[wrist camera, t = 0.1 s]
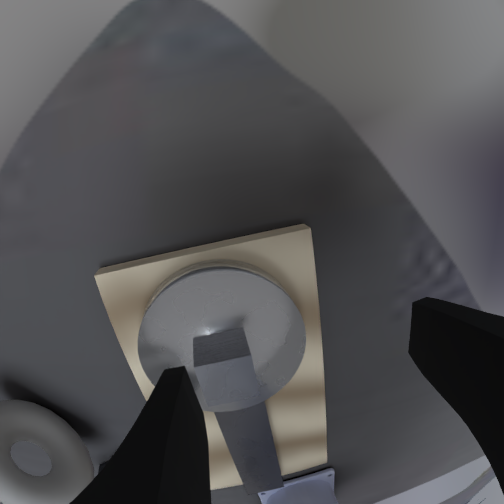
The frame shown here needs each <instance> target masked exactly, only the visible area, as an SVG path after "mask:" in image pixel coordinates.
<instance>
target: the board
mask: <svg viewBox="0 0 504 504" xmlns="http://www.w3.org/2000/svg"><path fill="white" fill-rule="evenodd" d="M212 259H229V260H237V261H242V262H246V263H249V264H252V265H254V266H257V267H259V268H261V269H263V270H264V271H266V272H268V273H269V274H270V275H272V276H273V277H274V278H275V279H276V280H277V281H278V282H279V283H281V285H282V286H283V287H284V289H285V290H286V291H287V293H288V294H289V296H290V297H291V299H292V300H293V302H294V304H295V305H296V307H297V308H298V310H299V312H300V314H301V316H302V319H303V322H304V325H305V330H306V347H305V352H304V356H303V359H302V362H301V364H300V366H299V368H298V370H297V371H296V373H295V375H294V376H293V377H292V378H291V380H290V381H289V382H288V383H287V384H286V385H285V386H284V387H283V388H282V389H281V390H280V391H278V392H277V393H276V394H275V395H273V396H271V397H270V398H268V399H267V400H265V405H266V409H267V414H268V418H269V423H270V427H271V431H272V436H273V440H274V445H275V449H276V453H277V458H278V462H279V466H280V471H281V475H286V474H290V473H294V472H297V471H301V470H304V469H308V468H311V467H314V466H318V465H321V464H324V463H327V432H326V404H325V383H324V366H323V351H322V337H321V324H320V312H319V301H318V290H317V280H316V270H315V260H314V251H313V243H312V234H311V228H310V227H308V226H307V225H305V224H299V225H294V226H289V227H284V228H280V229H275V230H270V231H265V232H261V233H256V234H251V235H247V236H242V237H237V238H233V239H228V240H223V241H219V242H214V243H209V244H205V245H200V246H196V247H191V248H187V249H182V250H178V251H173V252H169V253H164V254H160V255H155V256H151V257H147V258H142V259H138V260H133V261H129V262H125V263H120V264H116V265H112V266H107V267H103V268H100V269H99V270H98V271H97V273H96V274H95V275H94V277H95V280H96V283H97V286H98V288H99V291H100V294H101V297H102V300H103V302H104V305H105V308H106V310H107V313H108V316H109V318H110V321H111V323H112V326H113V328H114V331H115V333H116V336H117V338H118V340H119V343H120V345H121V347H122V350H123V352H124V354H125V357H126V359H127V361H128V363H129V366H130V368H131V370H132V372H133V374H134V376H135V379H136V381H137V383H138V385H139V387H140V389H141V391H142V393H143V395H144V397H145V399H146V401H148V399H149V397H150V395H151V393H152V391H153V389H154V387H155V386H154V385H153V384H152V383H151V381H150V380H149V379H148V377H147V376H146V374H145V372H144V370H143V368H142V366H141V363H140V360H139V355H138V334H139V329H140V325H141V322H142V318H143V314H144V311H145V308H146V305H147V303H148V301H149V299H150V297H151V295H152V294H153V292H154V291H155V290H156V288H157V287H158V286H159V285H160V284H161V283H162V282H163V281H164V280H165V279H166V278H168V277H169V276H170V275H171V274H173V273H174V272H176V271H178V270H180V269H181V268H184V267H186V266H188V265H191V264H194V263H197V262H201V261H206V260H212ZM203 413H204V418H205V424H206V430H207V437H208V446H209V469H210V490H213V489H220V488H226V487H232V486H237V485H242V484H243V482H242V480H241V478H240V475H239V473H238V471H237V468H236V466H235V464H234V461H233V459H232V457H231V454H230V452H229V449H228V447H227V444H226V442H225V439H224V437H223V434H222V432H221V429H220V427H219V424H218V421H217V419H216V416H215V414H214V412H209V411H203Z"/></svg>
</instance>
